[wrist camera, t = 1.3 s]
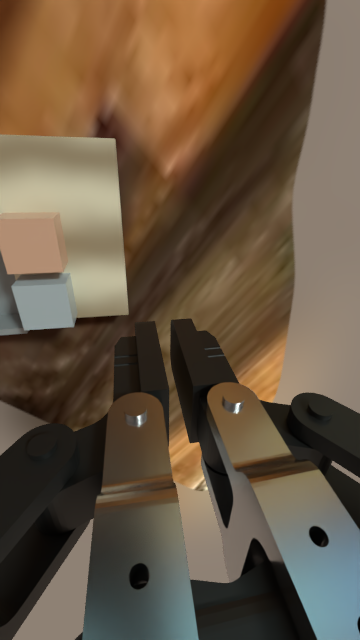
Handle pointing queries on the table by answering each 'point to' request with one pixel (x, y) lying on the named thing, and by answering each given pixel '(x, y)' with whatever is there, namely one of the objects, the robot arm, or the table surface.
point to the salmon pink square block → (32, 242)
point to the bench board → (73, 209)
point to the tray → (8, 304)
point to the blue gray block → (45, 301)
